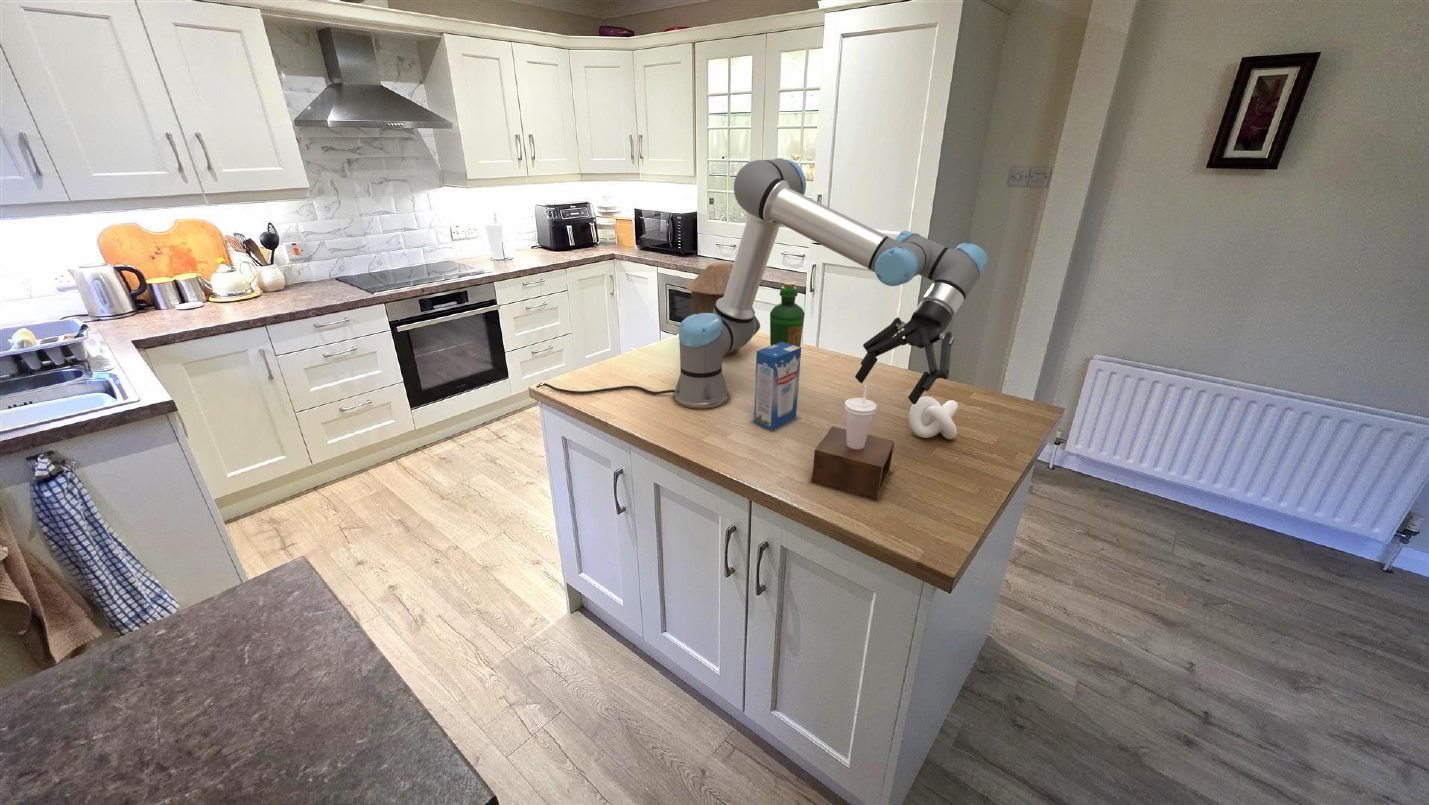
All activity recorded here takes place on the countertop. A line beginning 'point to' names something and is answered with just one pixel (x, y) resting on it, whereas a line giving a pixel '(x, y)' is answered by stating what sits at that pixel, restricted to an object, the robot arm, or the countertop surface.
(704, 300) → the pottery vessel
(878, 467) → the open-ended wooden box
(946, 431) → the white knot sculpture
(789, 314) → the bottle
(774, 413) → the milk carton
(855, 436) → the smoothie
